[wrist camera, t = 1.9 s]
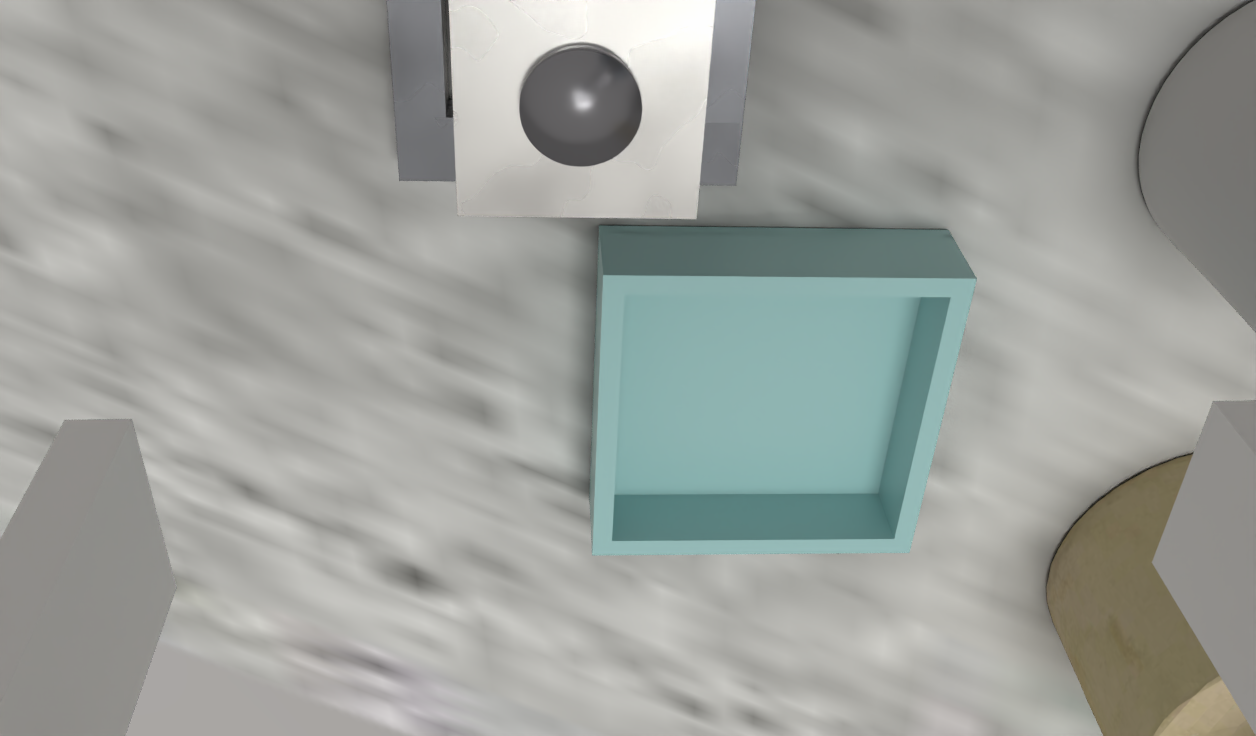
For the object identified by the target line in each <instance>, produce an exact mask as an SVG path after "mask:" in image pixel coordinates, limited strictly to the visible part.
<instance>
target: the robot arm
mask: <svg viewBox="0 0 1256 736" xmlns="http://www.w3.org/2000/svg"><path fill="white" fill-rule="evenodd" d="M1152 564H1153V565H1154V567H1155V569H1156V570H1157V572H1158V574H1159V575H1160V577H1161V579H1162V580H1163V582H1164V584H1165V585H1166V587H1167V589H1168V590H1169V592H1170V594H1171V595H1172V597H1173V599H1174V600H1175V602H1176V604H1177V605H1178V607H1179V609H1180V610H1181V612H1182V614H1183V615H1184V617H1185V619H1186V620H1187V622H1188V624H1189V625H1190V627H1191V629H1192V630H1193V632H1194V634H1195V635H1196V637H1197V639H1198V640H1199V642H1200V644H1201V645H1202V647H1203V649H1204V650H1205V652H1206V654H1207V655H1208V657H1209V659H1210V660H1211V662H1212V664H1213V665H1214V667H1215V669H1216V670H1217V672H1218V674H1219V675H1220V677H1221V679H1222V680H1223V682H1224V684H1225V685H1226V687H1227V689H1228V690H1229V692H1230V694H1231V695H1232V697H1233V699H1234V700H1235V702H1236V704H1237V705H1238V707H1239V709H1240V710H1241V712H1242V713H1243V715H1244V717H1245V718H1246V720H1247V722H1248V723H1249V725H1250V727H1251V728H1252V730H1253V732H1254V733H1255V735H1256V400H1251V401H1213V403H1212V406H1211V408H1210V411H1209V413H1208V416H1207V419H1206V421H1205V424H1204V427H1203V429H1202V432H1201V435H1200V437H1199V440H1198V442H1197V445H1196V448H1195V450H1194V453H1193V456H1192V458H1191V461H1190V463H1189V466H1188V469H1187V471H1186V474H1185V477H1184V479H1183V482H1182V484H1181V487H1180V490H1179V492H1178V495H1177V498H1176V500H1175V503H1174V506H1173V508H1172V511H1171V513H1170V516H1169V519H1168V521H1167V524H1166V527H1165V529H1164V532H1163V534H1162V537H1161V540H1160V542H1159V545H1158V548H1157V550H1156V553H1155V556H1154V558H1153V561H1152ZM176 588H177V587H176V583H175V579H174V575H173V572H172V568H171V564H170V560H169V557H168V553H167V549H166V545H165V542H164V538H163V534H162V530H161V527H160V523H159V519H158V515H157V512H156V508H155V504H154V500H153V497H152V493H151V489H150V485H149V481H148V478H147V474H146V470H145V466H144V463H143V459H142V455H141V451H140V448H139V444H138V440H137V436H136V433H135V429H134V425H133V421H132V419H94V420H64V422H63V424H62V426H61V428H60V430H59V431H58V433H57V435H56V437H55V439H54V441H53V443H52V444H51V446H50V448H49V450H48V452H47V454H46V455H45V457H44V459H43V461H42V463H41V465H40V467H39V468H38V470H37V472H36V474H35V476H34V478H33V480H32V481H31V483H30V485H29V487H28V489H27V491H26V493H25V494H24V496H23V498H22V500H21V502H20V504H19V506H18V507H17V509H16V511H15V513H14V515H13V517H12V519H11V520H10V522H9V524H8V526H7V528H6V530H5V532H4V533H3V535H2V537H1V539H0V736H125V735H126V733H127V730H128V727H129V724H130V721H131V718H132V715H133V712H134V709H135V706H136V704H137V701H138V698H139V695H140V692H141V689H142V686H143V683H144V680H145V678H146V675H147V672H148V669H149V666H150V663H151V660H152V657H153V654H154V652H155V649H156V646H157V643H158V640H159V637H160V634H161V631H162V628H163V626H164V623H165V620H166V617H167V614H168V611H169V608H170V605H171V602H172V599H173V597H174V594H175V591H176Z"/></svg>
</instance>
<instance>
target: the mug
mask: <svg viewBox="0 0 1256 736" xmlns="http://www.w3.org/2000/svg"><path fill="white" fill-rule="evenodd" d="M1139 177H1140V183H1141V189H1142V192H1143V195H1144V198H1145V201H1146V204H1147V207H1148V210H1149V211H1150V213H1151V215H1152V217H1153V219H1154V221H1155V222H1156V224H1157V225H1158V226H1159V228H1160V229H1161V230H1162V231H1163V233H1164V234H1165V235H1166V236H1167V238H1168V239H1169V240H1170V241H1171V242H1172V243H1173V244H1174V246H1175V247H1176V248H1177V249H1178V250H1179V251H1180V252H1181V253H1182V254H1183V255H1184V256H1185V257H1186V258H1187V259H1188V260H1189V261H1190V262H1191V263H1192V264H1193V265H1194V266H1195V267H1196V268H1197V269H1198V270H1199V271H1200V272H1201V273H1202V274H1203V275H1204V276H1205V277H1206V279H1207V280H1208V281H1209V282H1210V283H1211V284H1212V285H1213V286H1214V287H1215V288H1216V289H1217V290H1218V291H1219V293H1220V294H1221V295H1222V296H1223V297H1224V298H1225V299H1226V300H1227V301H1228V302H1229V304H1230V305H1231V306H1232V307H1233V308H1234V309H1235V310H1236V311H1237V312H1238V314H1239V315H1240V316H1241V317H1242V318H1243V319H1244V320H1245V321H1246V322H1247V324H1248V325H1249V326H1250V327H1251V328H1252V329H1253V330H1254V331H1255V332H1256V0H1254V1H1252V2H1250V3H1248V4H1247V5H1245V6H1243V7H1242V8H1240V9H1239V10H1237V11H1236V12H1234V13H1232V14H1231V15H1229V16H1228V17H1226V18H1225V19H1224V20H1223V21H1221V22H1220V23H1219V24H1217V25H1216V26H1215V27H1214V28H1212V29H1211V30H1210V31H1209V32H1207V33H1206V34H1205V35H1204V36H1203V37H1202V38H1201V39H1200V40H1199V41H1198V42H1197V43H1196V44H1195V45H1194V46H1193V47H1192V48H1191V49H1190V50H1189V51H1188V52H1187V54H1186V55H1185V56H1184V57H1183V58H1182V59H1181V61H1180V62H1179V63H1178V64H1177V65H1176V67H1175V68H1174V70H1173V71H1172V72H1171V74H1170V75H1169V77H1168V78H1167V80H1166V81H1165V83H1164V84H1163V86H1162V88H1161V90H1160V92H1159V93H1158V95H1157V97H1156V99H1155V101H1154V103H1153V105H1152V108H1151V110H1150V113H1149V115H1148V117H1147V120H1146V123H1145V127H1144V130H1143V134H1142V138H1141V144H1140V151H1139Z"/></svg>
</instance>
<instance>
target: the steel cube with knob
mask: <svg viewBox="0 0 1256 736" xmlns="http://www.w3.org/2000/svg"><path fill="white" fill-rule="evenodd" d="M715 3H716V0H449V21H450V46H451V71H452V96H453V120H454V145H455V170H456V195H457V216H493V217H571V218H648V219H697V208H698V196H699V185H700V174H701V162H702V151H703V140H704V128H705V117H706V105H707V94H708V83H709V71H710V60H711V49H712V37H713V26H714V15H715Z"/></svg>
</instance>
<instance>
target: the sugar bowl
mask: <svg viewBox="0 0 1256 736" xmlns="http://www.w3.org/2000/svg"><path fill="white" fill-rule="evenodd" d="M1192 456H1193V454H1191V455H1187V456H1184V457H1180V458H1176V459H1174V460H1171V461H1169V462H1166V463H1164V464H1161V465H1158V466H1156V467H1153V468H1151V469H1149V470H1147V471H1145V472H1143V473H1142V474H1140V475H1138V476H1136V477H1134V478H1132V479H1131V480H1129V481H1127V482H1125V483H1124V484H1122V485H1120V486H1118V487H1117V488H1115V489H1114V490H1112V491H1111V492H1110V493H1109V494H1107V495H1106V496H1105V497H1104V498H1102V499H1101V500H1100V501H1098V502H1097V503H1096V504H1095V505H1094V506H1093V507H1092V508H1091V509H1089V510H1088V511H1087V512H1086V513H1085V514H1084V515H1083V516H1082V518H1081V519H1080V520H1079V521H1078V522H1077V523H1076V524H1075V525H1074V526H1073V527H1072V528H1071V530H1070V531H1069V533H1068V534H1067V536H1066V537H1065V539H1064V541H1063V542H1062V544H1061V546H1060V547H1059V549H1058V551H1057V553H1056V555H1055V557H1054V559H1053V561H1052V564H1051V568H1050V573H1049V579H1048V583H1047V587H1046V590H1047V604H1048V607H1049V610H1050V614H1051V618H1052V621H1053V623H1054V626H1055V628H1056V630H1057V632H1058V635H1059V637H1060V639H1061V641H1062V644H1063V646H1064V648H1065V651H1066V653H1067V655H1068V657H1069V660H1070V662H1071V664H1072V666H1073V669H1074V671H1075V673H1076V675H1077V678H1078V680H1079V682H1080V684H1081V687H1082V689H1083V691H1084V694H1085V696H1086V699H1087V701H1088V703H1089V705H1090V708H1091V710H1092V712H1093V714H1094V716H1095V718H1096V721H1097V723H1098V725H1099V727H1100V729H1101V731H1102V734H1103V736H1256V735H1255V733H1254V732H1253V730H1252V728H1251V727H1250V725H1249V723H1248V722H1247V720H1246V718H1245V717H1244V715H1243V713H1242V712H1241V710H1240V709H1239V707H1238V705H1237V704H1236V702H1235V700H1234V699H1233V697H1232V695H1231V694H1230V692H1229V690H1228V689H1227V687H1226V685H1225V684H1224V682H1223V680H1222V679H1221V677H1220V675H1219V674H1218V672H1217V670H1216V669H1215V667H1214V665H1213V664H1212V662H1211V660H1210V659H1209V657H1208V655H1207V654H1206V652H1205V650H1204V649H1203V647H1202V645H1201V644H1200V642H1199V640H1198V639H1197V637H1196V635H1195V634H1194V632H1193V630H1192V629H1191V627H1190V625H1189V624H1188V622H1187V620H1186V619H1185V617H1184V615H1183V614H1182V612H1181V610H1180V609H1179V607H1178V605H1177V604H1176V602H1175V600H1174V599H1173V597H1172V595H1171V594H1170V592H1169V590H1168V589H1167V587H1166V585H1165V584H1164V582H1163V580H1162V579H1161V577H1160V575H1159V574H1158V572H1157V570H1156V569H1155V567H1154V565H1153V564H1152V561H1153V558H1154V556H1155V553H1156V550H1157V548H1158V545H1159V542H1160V540H1161V537H1162V534H1163V532H1164V529H1165V527H1166V524H1167V521H1168V519H1169V516H1170V513H1171V511H1172V508H1173V506H1174V503H1175V500H1176V498H1177V495H1178V492H1179V490H1180V487H1181V484H1182V482H1183V479H1184V477H1185V474H1186V471H1187V469H1188V466H1189V463H1190V461H1191V458H1192Z"/></svg>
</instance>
